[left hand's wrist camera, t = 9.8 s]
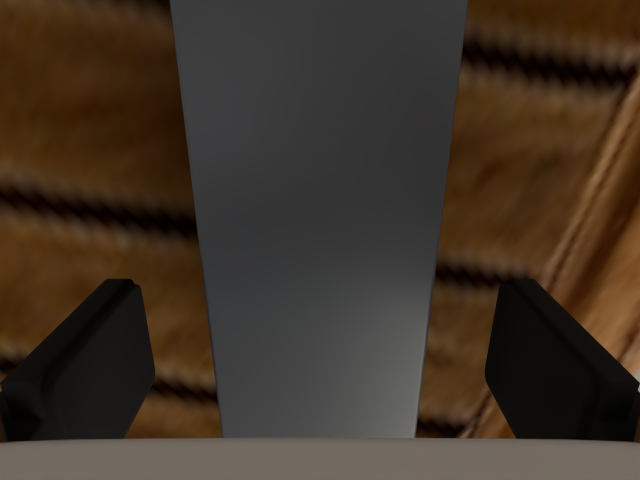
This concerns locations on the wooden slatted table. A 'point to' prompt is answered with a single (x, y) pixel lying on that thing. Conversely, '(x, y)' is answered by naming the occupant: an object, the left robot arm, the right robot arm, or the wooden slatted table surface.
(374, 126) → the post
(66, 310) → the wooden slatted table surface
